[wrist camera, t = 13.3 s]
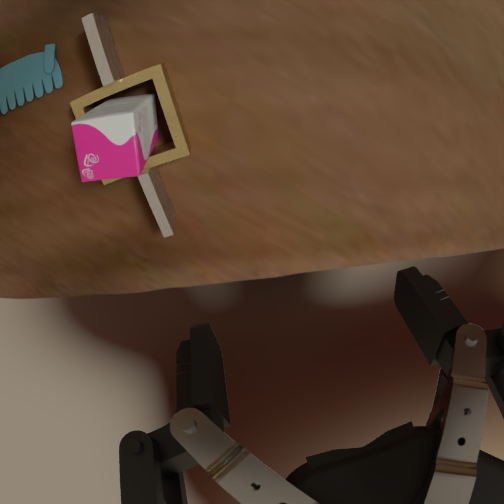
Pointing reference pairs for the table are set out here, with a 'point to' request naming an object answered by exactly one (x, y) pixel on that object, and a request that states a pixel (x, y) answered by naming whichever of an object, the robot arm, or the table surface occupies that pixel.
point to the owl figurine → (29, 78)
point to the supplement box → (116, 137)
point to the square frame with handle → (180, 145)
